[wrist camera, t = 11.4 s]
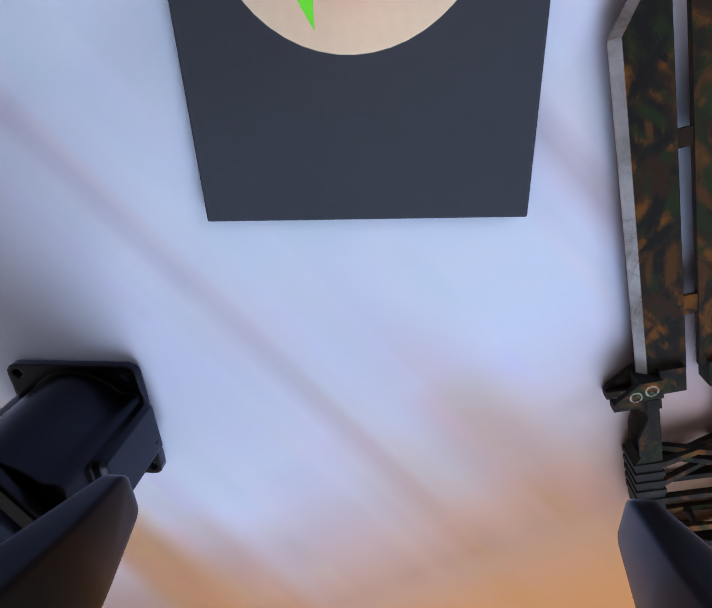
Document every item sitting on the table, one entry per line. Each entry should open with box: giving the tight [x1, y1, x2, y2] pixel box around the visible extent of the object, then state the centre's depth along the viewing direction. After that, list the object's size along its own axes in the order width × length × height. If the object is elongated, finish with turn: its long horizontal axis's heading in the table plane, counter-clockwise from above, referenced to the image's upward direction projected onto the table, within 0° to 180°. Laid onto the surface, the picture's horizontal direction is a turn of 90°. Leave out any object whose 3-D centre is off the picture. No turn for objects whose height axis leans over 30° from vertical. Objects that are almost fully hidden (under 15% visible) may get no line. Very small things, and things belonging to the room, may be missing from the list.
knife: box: [603, 0, 712, 548], centre depth 19 cm, size 25×6×1 cm, turn 12°
